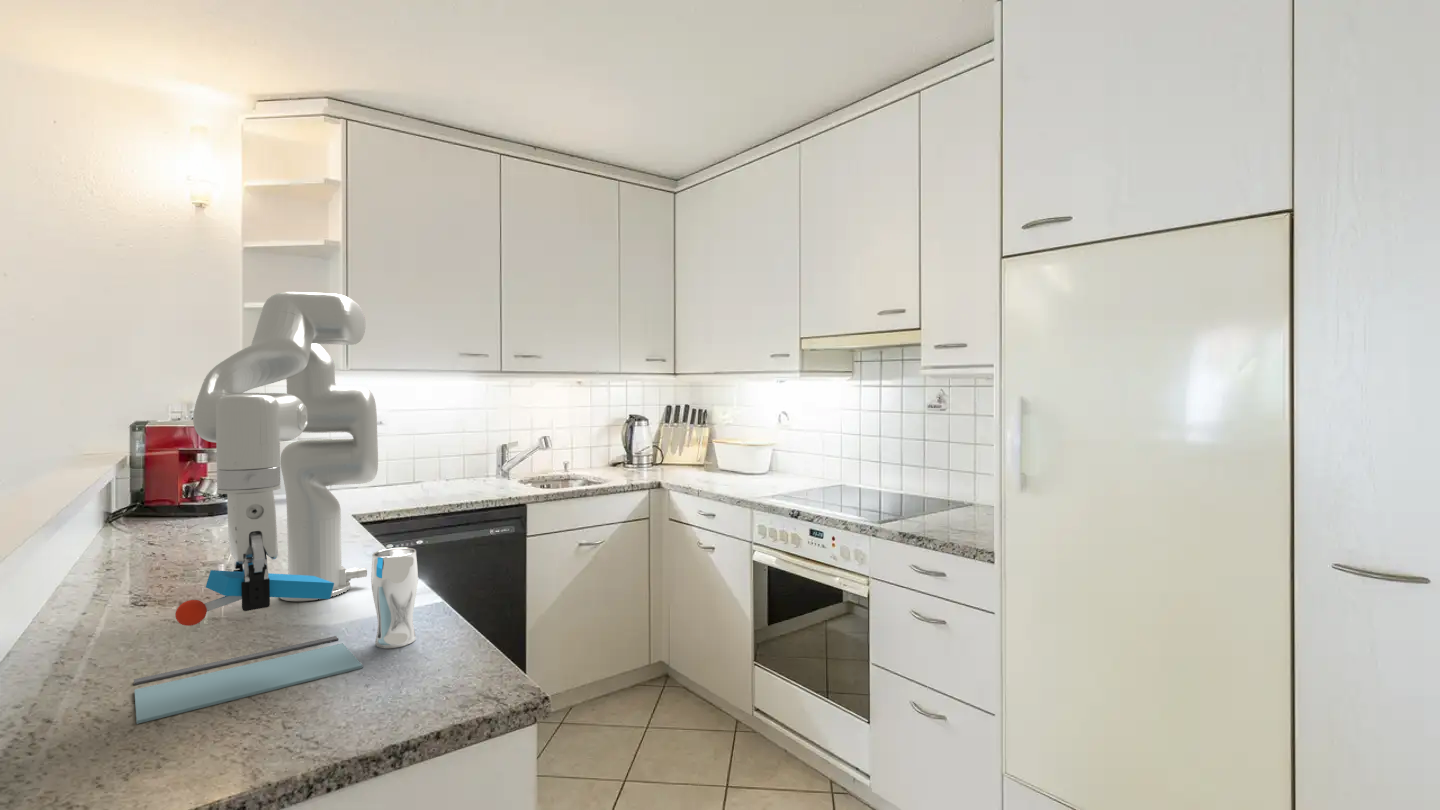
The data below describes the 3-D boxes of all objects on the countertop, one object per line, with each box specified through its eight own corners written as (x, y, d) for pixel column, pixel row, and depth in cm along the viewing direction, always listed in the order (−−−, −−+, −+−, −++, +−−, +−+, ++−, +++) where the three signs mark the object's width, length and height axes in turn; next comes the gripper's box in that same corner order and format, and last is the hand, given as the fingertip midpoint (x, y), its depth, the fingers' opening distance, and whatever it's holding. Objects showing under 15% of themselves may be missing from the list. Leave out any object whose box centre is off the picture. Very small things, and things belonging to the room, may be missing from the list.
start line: (335, 637, 116) (335, 635, 116) (338, 640, 115) (338, 638, 115) (133, 681, 99) (133, 679, 99) (134, 684, 98) (134, 682, 98)
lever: (301, 621, 108) (163, 620, 94) (313, 575, 109) (179, 568, 95) (322, 630, 104) (181, 630, 90) (334, 583, 105) (198, 576, 91)
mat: (342, 645, 113) (342, 643, 113) (362, 667, 104) (362, 665, 104) (134, 692, 95) (134, 689, 95) (136, 723, 86) (136, 720, 86)
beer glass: (427, 638, 116) (426, 549, 116) (392, 652, 110) (391, 559, 109) (398, 632, 119) (397, 545, 118) (362, 645, 113) (361, 554, 112)
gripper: (291, 483, 95) (293, 610, 95) (270, 473, 108) (271, 584, 108) (224, 489, 90) (227, 622, 90) (210, 477, 103) (212, 594, 103)
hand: (251, 601), depth 99 cm, fingers closed on lever, 7 cm apart
